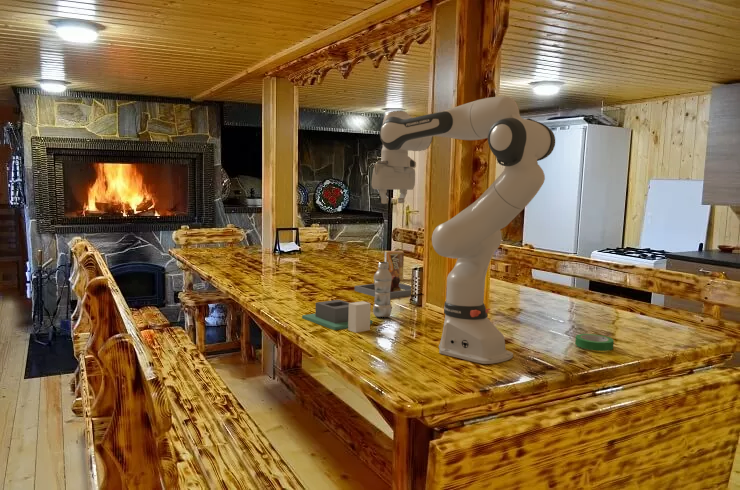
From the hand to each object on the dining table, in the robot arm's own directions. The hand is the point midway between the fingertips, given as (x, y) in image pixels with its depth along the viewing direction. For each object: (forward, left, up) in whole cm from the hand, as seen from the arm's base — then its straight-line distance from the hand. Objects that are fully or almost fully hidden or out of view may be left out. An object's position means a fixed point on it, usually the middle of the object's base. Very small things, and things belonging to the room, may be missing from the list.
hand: (393, 203), depth 193 cm
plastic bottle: (+12, -7, -42) cm, 44 cm away
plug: (+2, +12, -42) cm, 43 cm away
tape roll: (-53, -38, -42) cm, 78 cm away
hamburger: (+44, -37, -42) cm, 72 cm away
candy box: (+66, -59, -42) cm, 98 cm away
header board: (+16, +11, -42) cm, 46 cm away
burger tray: (+44, -37, -42) cm, 71 cm away
